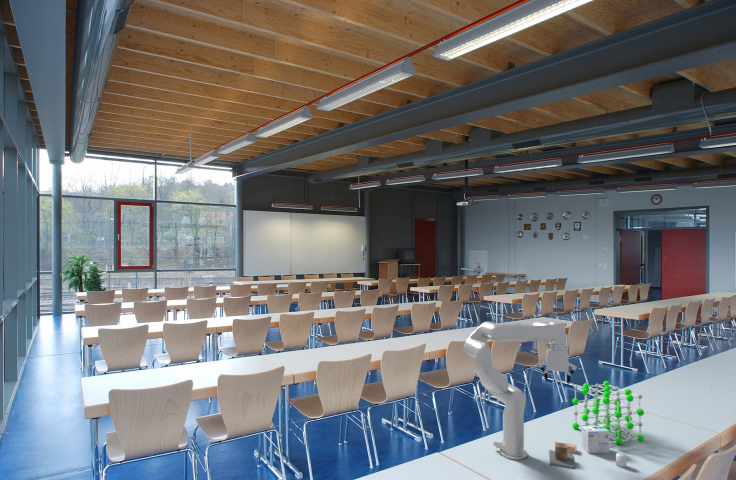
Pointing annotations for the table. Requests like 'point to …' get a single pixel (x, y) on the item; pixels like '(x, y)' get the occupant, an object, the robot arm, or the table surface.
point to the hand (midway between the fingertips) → (557, 381)
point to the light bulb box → (595, 439)
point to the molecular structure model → (608, 409)
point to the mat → (567, 464)
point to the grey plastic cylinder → (621, 460)
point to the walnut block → (560, 451)
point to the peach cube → (571, 448)
